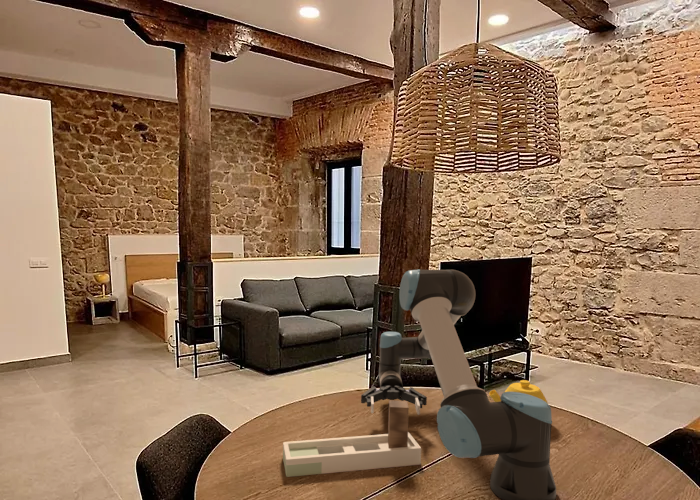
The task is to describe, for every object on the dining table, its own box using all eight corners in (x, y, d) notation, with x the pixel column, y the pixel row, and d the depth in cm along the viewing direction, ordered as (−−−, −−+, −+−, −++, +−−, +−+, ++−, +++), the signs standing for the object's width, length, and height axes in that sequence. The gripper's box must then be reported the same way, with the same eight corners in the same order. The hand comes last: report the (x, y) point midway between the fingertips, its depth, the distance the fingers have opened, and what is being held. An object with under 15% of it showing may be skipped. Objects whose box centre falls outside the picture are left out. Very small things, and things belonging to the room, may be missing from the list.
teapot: (498, 433, 151) (499, 390, 151) (478, 413, 167) (480, 374, 166) (558, 431, 154) (560, 388, 153) (534, 412, 169) (535, 373, 169)
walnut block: (405, 442, 137) (406, 400, 136) (407, 451, 132) (408, 407, 131) (387, 442, 137) (388, 400, 136) (388, 450, 132) (390, 407, 131)
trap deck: (408, 447, 140) (408, 432, 140) (420, 464, 131) (421, 448, 130) (282, 458, 133) (283, 442, 132) (286, 476, 123) (286, 459, 123)
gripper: (428, 397, 164) (437, 423, 143) (354, 395, 165) (352, 420, 144) (428, 375, 164) (438, 398, 143) (354, 373, 164) (353, 395, 143)
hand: (395, 409), depth 143 cm, fingers open, 13 cm apart
